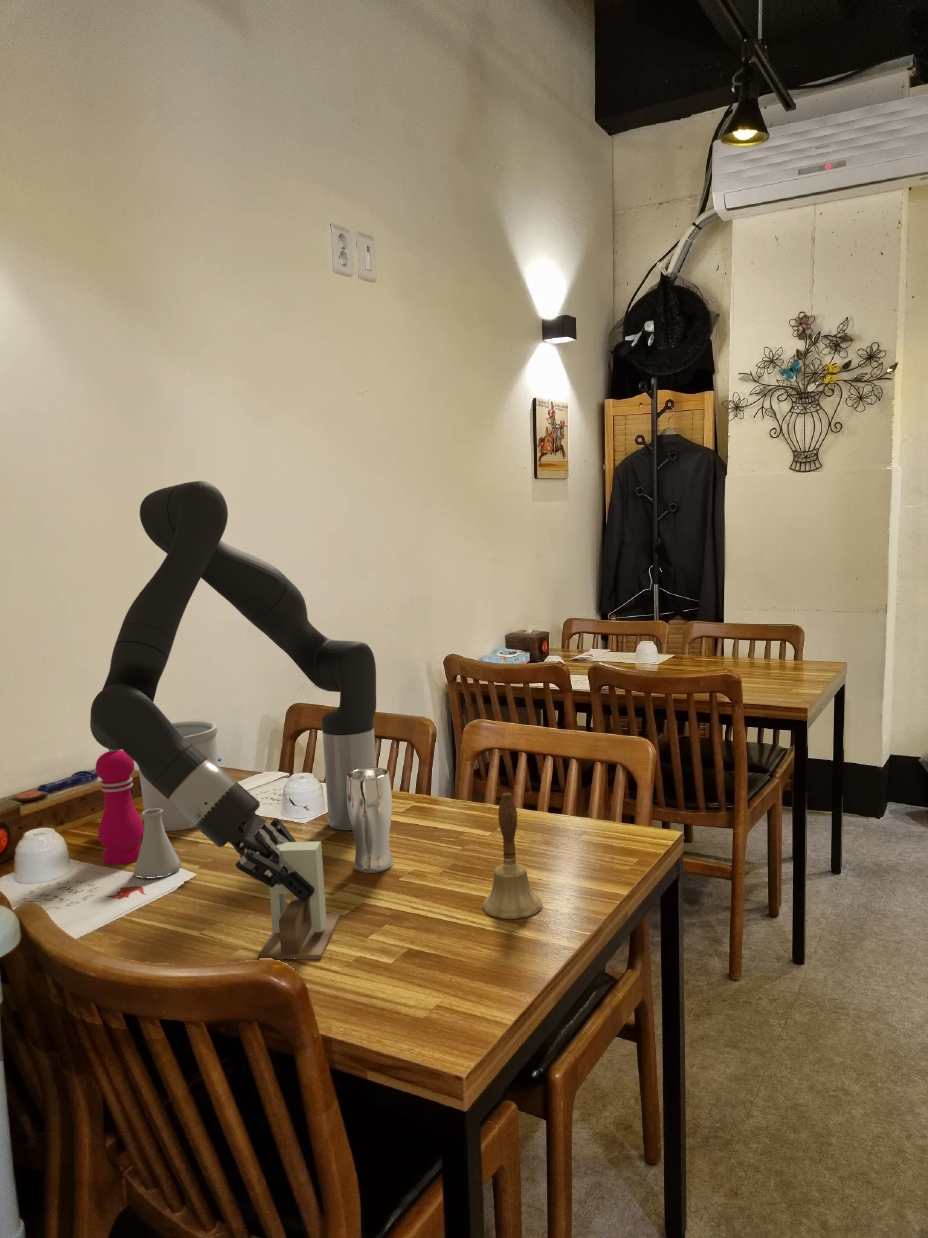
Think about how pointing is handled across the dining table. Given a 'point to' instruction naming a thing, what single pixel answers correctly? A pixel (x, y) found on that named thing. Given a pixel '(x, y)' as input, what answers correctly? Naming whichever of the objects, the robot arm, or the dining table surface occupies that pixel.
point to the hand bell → (510, 873)
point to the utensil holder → (205, 742)
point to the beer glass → (370, 818)
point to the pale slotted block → (310, 867)
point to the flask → (155, 848)
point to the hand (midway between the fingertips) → (312, 890)
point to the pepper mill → (118, 809)
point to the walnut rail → (299, 934)
